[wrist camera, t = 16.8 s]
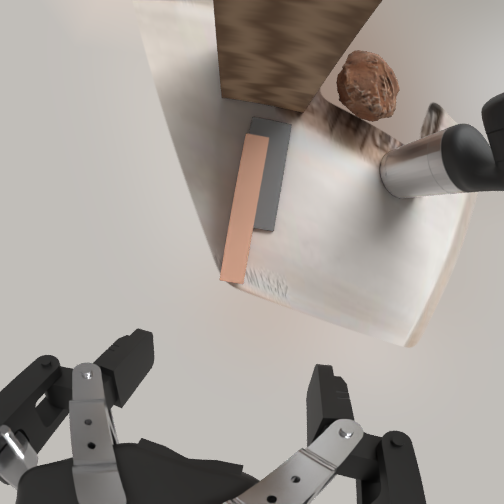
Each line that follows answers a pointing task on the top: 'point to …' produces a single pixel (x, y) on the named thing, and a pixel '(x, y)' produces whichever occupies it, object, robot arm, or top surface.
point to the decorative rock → (367, 86)
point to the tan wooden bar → (244, 208)
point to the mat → (271, 169)
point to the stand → (283, 46)
